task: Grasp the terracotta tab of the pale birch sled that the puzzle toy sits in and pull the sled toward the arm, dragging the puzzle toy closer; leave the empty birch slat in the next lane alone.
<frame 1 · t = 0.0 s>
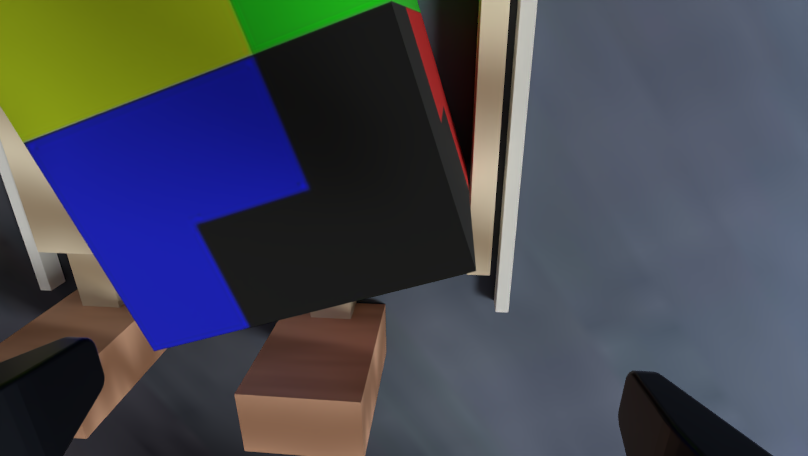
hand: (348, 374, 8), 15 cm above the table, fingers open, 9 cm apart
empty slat: (22, 177, 20), point 4 cm above the table, slide at 0.0 cm
puzzle toy: (325, 92, 21), resting in sled
sled: (306, 184, 19), point 4 cm above the table, slide at 0.0 cm
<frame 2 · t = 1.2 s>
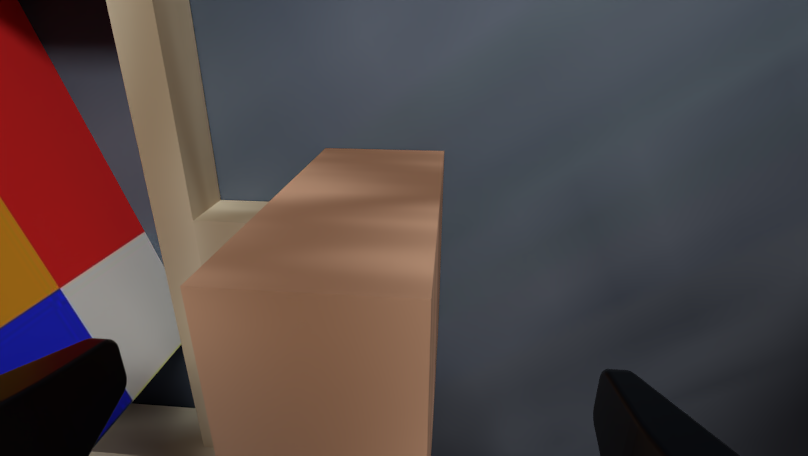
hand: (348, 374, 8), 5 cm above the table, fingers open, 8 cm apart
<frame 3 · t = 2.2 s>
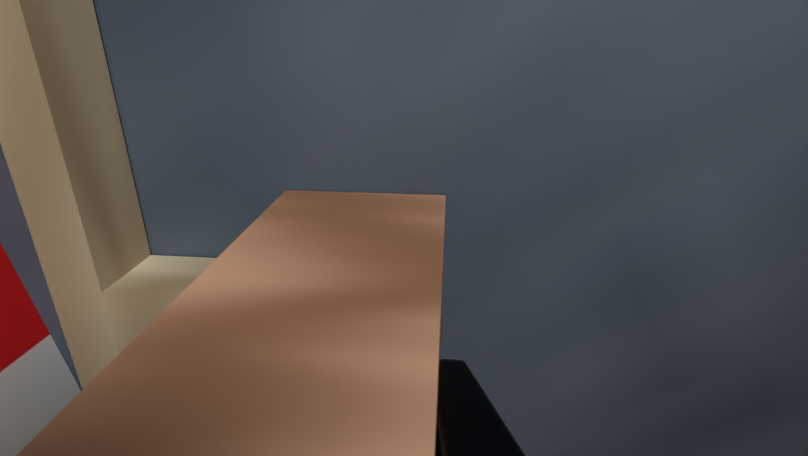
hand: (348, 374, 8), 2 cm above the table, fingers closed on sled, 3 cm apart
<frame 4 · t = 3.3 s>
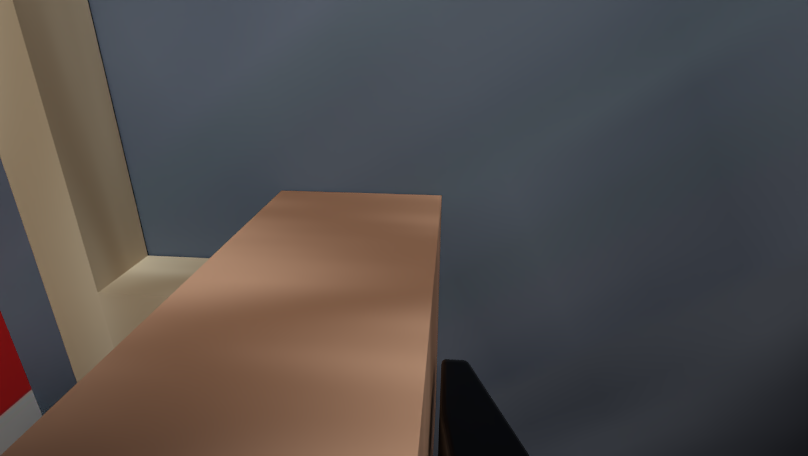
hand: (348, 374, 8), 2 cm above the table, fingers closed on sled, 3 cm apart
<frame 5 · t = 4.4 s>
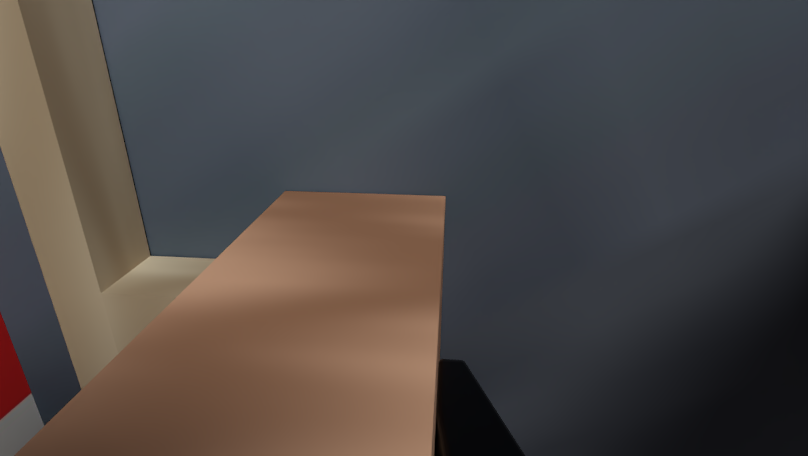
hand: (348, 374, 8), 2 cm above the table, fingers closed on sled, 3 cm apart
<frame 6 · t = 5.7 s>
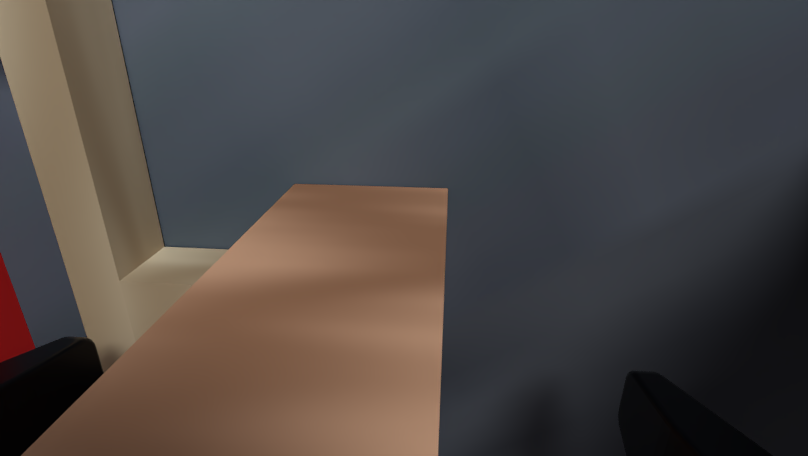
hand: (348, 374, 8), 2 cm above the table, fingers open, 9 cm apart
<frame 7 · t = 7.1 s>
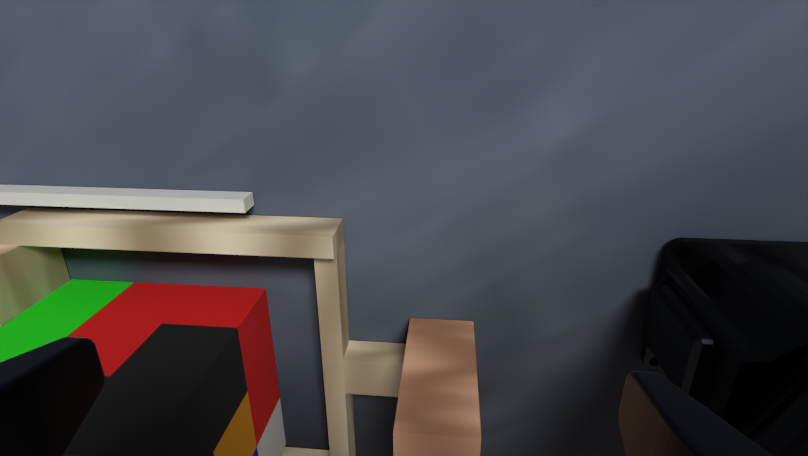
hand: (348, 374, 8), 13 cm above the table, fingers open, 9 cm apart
puzzle toy: (187, 363, 26), resting in sled
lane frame: (727, 305, 21), on the table
sled: (235, 400, 21), point 4 cm above the table, slide at 6.5 cm
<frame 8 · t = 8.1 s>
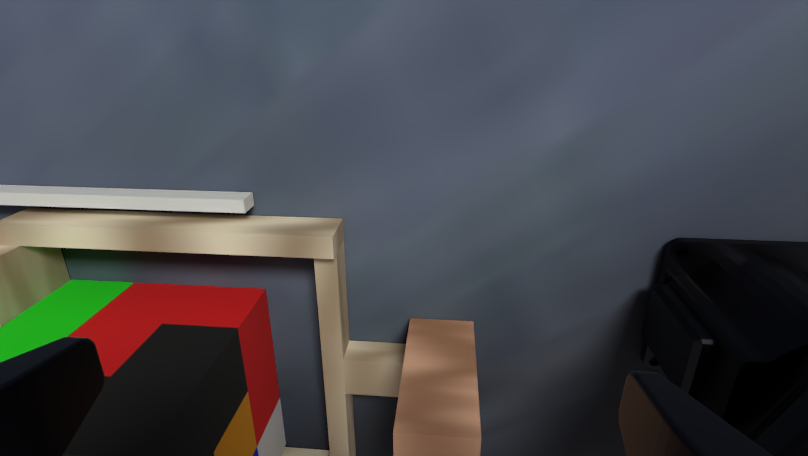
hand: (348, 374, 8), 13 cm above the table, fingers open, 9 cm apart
puzzle toy: (187, 363, 26), resting in sled
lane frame: (727, 305, 21), on the table
sled: (235, 401, 21), point 3 cm above the table, slide at 6.5 cm
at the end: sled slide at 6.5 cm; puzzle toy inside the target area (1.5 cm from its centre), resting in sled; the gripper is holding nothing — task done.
